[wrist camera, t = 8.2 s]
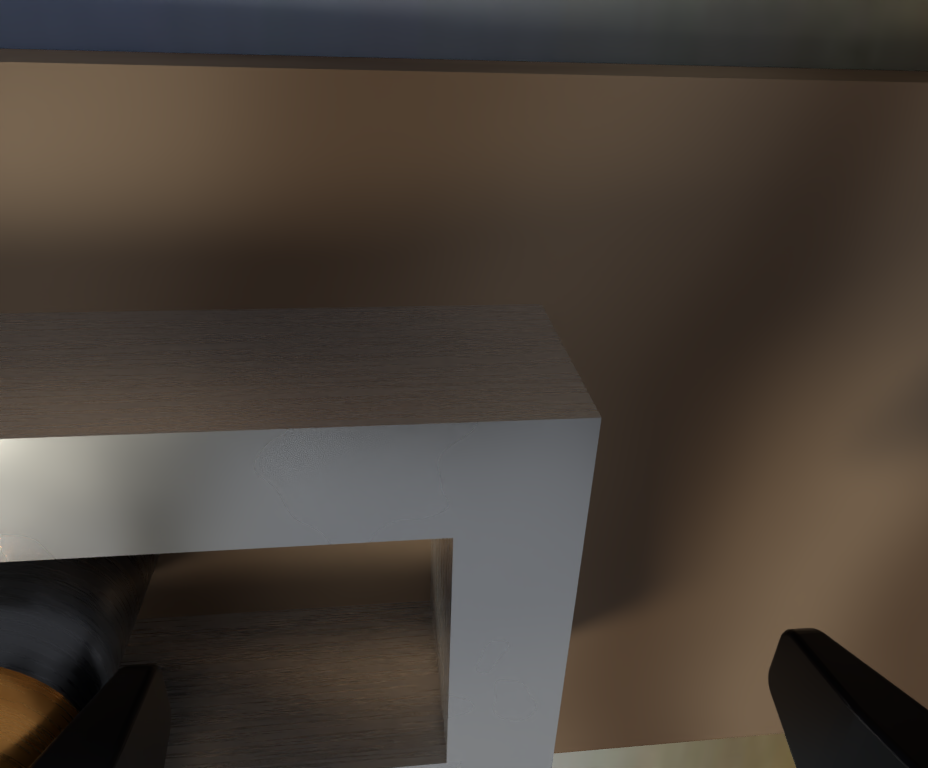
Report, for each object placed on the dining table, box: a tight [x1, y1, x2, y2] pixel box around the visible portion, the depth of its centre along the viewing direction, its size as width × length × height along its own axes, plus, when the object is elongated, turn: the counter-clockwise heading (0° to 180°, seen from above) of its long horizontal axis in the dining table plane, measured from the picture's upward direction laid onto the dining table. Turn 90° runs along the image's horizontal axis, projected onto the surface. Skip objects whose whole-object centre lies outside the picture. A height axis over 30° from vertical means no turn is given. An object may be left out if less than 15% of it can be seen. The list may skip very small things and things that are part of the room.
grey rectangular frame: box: [0, 304, 601, 768], centre depth 10 cm, size 12×7×3 cm, turn 88°
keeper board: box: [0, 49, 928, 753], centre depth 13 cm, size 24×13×2 cm, turn 88°
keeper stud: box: [0, 554, 160, 768], centre depth 9 cm, size 2×2×5 cm
